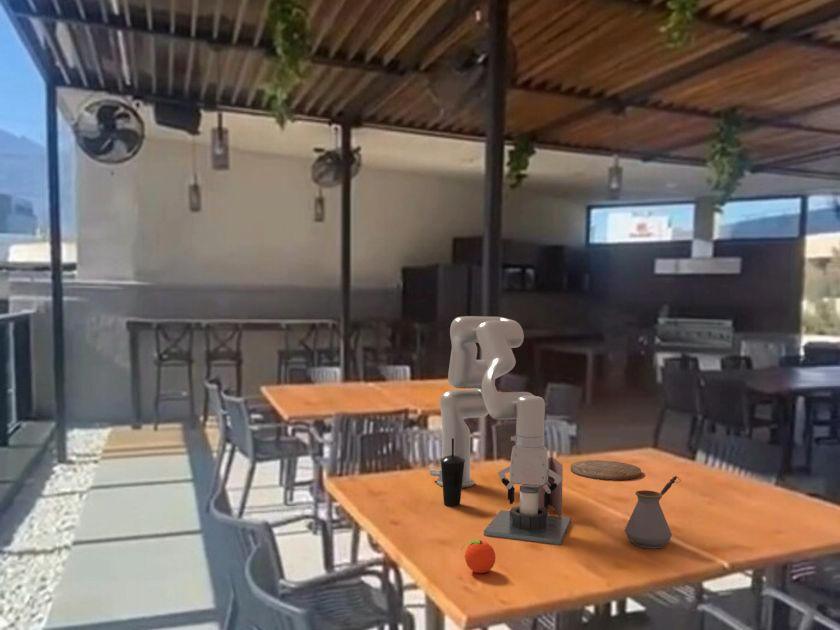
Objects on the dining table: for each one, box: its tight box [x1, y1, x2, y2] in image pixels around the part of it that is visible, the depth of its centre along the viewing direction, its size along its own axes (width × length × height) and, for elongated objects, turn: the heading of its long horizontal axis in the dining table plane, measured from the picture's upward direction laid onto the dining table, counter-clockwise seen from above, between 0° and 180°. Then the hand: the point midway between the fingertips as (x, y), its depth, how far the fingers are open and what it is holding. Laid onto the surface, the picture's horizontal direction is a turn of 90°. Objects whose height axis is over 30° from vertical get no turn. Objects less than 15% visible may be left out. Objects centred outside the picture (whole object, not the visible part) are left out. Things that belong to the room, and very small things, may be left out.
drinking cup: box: [439, 438, 465, 508], centre depth 212 cm, size 8×8×20 cm
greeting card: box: [538, 456, 564, 517], centre depth 206 cm, size 11×7×15 cm, turn 150°
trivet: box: [570, 459, 642, 482], centre depth 257 cm, size 25×25×2 cm
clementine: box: [461, 540, 497, 574], centre depth 159 cm, size 8×7×7 cm
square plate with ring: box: [483, 505, 572, 546], centre depth 190 cm, size 20×20×5 cm
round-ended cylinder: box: [519, 484, 539, 515], centre depth 190 cm, size 5×5×10 cm
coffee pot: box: [624, 475, 682, 549], centre depth 183 cm, size 21×12×15 cm, turn 134°
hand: (529, 504), depth 190 cm, fingers open, 9 cm apart
